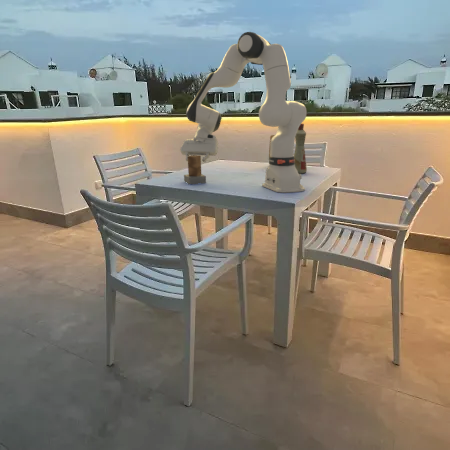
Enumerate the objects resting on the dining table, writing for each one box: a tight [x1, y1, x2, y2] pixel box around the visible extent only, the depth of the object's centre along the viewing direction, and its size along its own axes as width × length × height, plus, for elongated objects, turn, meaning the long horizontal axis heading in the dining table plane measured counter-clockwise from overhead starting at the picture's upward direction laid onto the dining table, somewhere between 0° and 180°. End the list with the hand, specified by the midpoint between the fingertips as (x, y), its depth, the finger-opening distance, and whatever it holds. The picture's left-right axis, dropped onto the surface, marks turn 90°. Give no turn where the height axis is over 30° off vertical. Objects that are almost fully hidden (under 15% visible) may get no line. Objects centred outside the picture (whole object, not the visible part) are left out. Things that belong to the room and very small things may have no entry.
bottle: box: [293, 123, 307, 175], centre depth 189 cm, size 9×9×28 cm
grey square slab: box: [183, 173, 207, 185], centre depth 174 cm, size 9×9×4 cm
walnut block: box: [187, 155, 202, 176], centre depth 171 cm, size 5×5×10 cm
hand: (195, 160), depth 172 cm, fingers open, 8 cm apart
